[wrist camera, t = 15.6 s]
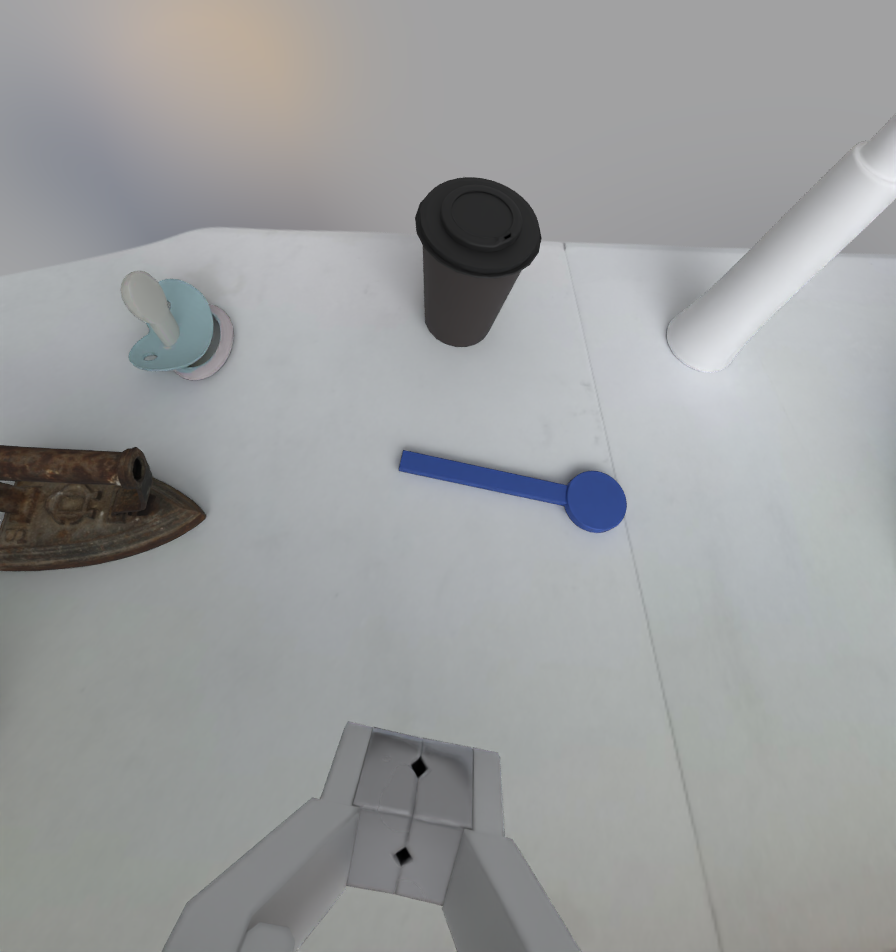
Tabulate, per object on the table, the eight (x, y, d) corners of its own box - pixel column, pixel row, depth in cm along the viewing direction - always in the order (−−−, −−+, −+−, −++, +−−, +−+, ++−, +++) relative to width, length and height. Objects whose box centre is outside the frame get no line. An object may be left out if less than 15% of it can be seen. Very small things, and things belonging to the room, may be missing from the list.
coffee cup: (487, 377, 37) (524, 283, 27) (390, 337, 37) (394, 229, 27) (520, 302, 40) (563, 194, 30) (430, 264, 40) (446, 146, 31)
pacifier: (243, 309, 36) (157, 298, 35) (220, 243, 30) (117, 228, 29) (225, 393, 33) (133, 384, 33) (197, 339, 28) (83, 326, 27)
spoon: (393, 491, 32) (394, 487, 32) (407, 434, 34) (407, 429, 33) (620, 538, 33) (626, 535, 33) (622, 481, 35) (628, 477, 34)
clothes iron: (22, 461, 30) (-60, 364, 22) (217, 482, 34) (210, 406, 26) (-20, 570, 27) (-134, 505, 19) (200, 579, 31) (185, 528, 23)
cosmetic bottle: (682, 302, 42) (966, -29, 22) (742, 339, 42) (1092, 35, 21) (654, 346, 40) (941, 25, 20) (717, 386, 39) (1080, 97, 19)
